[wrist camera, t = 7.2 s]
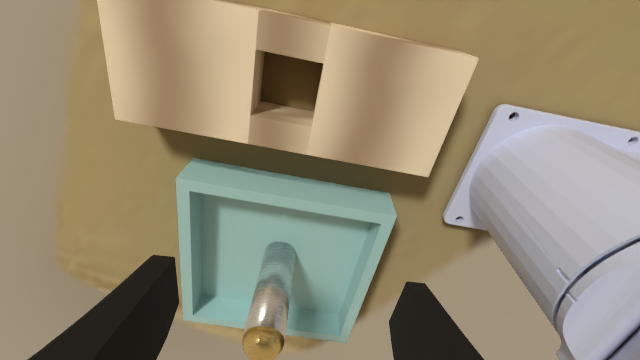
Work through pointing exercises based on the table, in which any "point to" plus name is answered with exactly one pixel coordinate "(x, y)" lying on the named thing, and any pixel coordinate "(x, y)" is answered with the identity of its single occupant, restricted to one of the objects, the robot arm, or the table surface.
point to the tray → (270, 226)
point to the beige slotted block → (247, 72)
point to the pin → (270, 303)
